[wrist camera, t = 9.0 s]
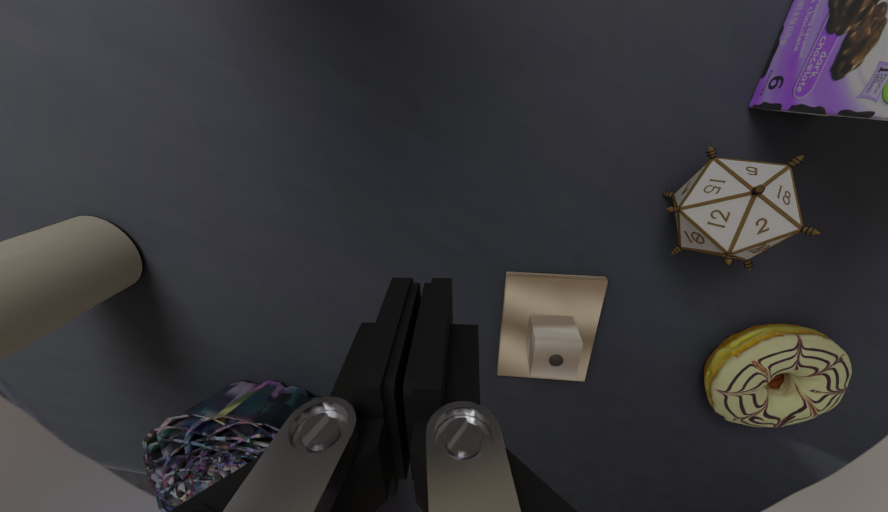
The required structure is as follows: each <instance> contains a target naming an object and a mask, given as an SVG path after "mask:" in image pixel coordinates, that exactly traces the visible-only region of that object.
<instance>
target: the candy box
mask: <svg viewBox="0 0 888 512" xmlns="http://www.w3.org/2000/svg"><path fill="white" fill-rule="evenodd" d="M749 107H750V108H756V109H763V110H771V111H782V112H792V113H799V114H808V115H819V116H842V117H852V118H863V119H874V120H884V121H888V0H794V1H793V3H792V5H791V8H790V10H789V12H788V15H787V17H786V20H785V22H784V24H783V27H782V29H781V31H780V33H779V36H778V38H777V40H776V43H775V45H774V48H773V50H772V52H771V55H770V57H769V59H768V62H767V64H766V66H765V69H764V71H763V73H762V76H761V78H760V81H759V83H758V85H757V87H756V90H755V92H754V95H753V97H752V99H751V101H750V104H749Z"/></svg>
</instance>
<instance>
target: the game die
mask: <svg viewBox="0 0 888 512" xmlns="http://www.w3.org/2000/svg"><path fill="white" fill-rule="evenodd" d="M706 153H707V156H709V158H710V160H709V161H708V162H707V163H706V164H704V165H703V166H702V167H701V168H700V169H699V170H698V171H697V172H696V173H695V174H694V175H693V176H692V177H691V178H690V179H689V180H688V181H687V182H686V183H684V184H683V185H682V186H681V187H680V188H679V189H678V190H677V191H676V192H675V193H672V191H671V192H670V191H669V190H668V191H666V192H663V194H664V195H665V197H669V198H670V197H672V199H673V206H670V207H669V208H667V210H668V211H669V212H670V213H671V214H672V213H674V214H675V221H676V229H677V236H678V243H679V246H678V247H674V249H672V252H671V255H674V254H678V253H679V252H680V251H681V249H685V250H690V251H695V252H701V253H706V254H711V255H716V256H721V257H723V258H724V260H723V261H724V262H725V263H727V264H728V265H729V264H731V263H733V259H737V260H742V261H744V263H743V264H744V267H745V268H747V269H748V270H751V268H752V266H753V265H752V263H753V262H751V261H750V259H752V258H753V257H755V256H757V255H759V254H761V253H762V252H764V251H766V250H768V249H770V248H772V247H773V246H775V245H777V244H779V243H781V242H782V241H784V240H786V239H788V238H790V237H791V236H793V235H795V234H797V233H799V232H803V233H805V235H806V234H808V235H810V236H811V235H817V234H821V233H820V232H818V231H817V230H816V228H811V227H804V226H803V221H802V216H801V211H800V207H799V202H798V197H797V192H796V187H795V182H794V177H793V172H792V167H794V166H796V165H797V166H798V164H799V163H802V159H803V157H804V155H802V156H798V157H794V158H793V159H792V160H790V162H789V163H788V164H779V163H769V162H759V161H750V160H740V159H730V158H721V157H716V156H715V155H716V152H715V149H713V148H712V147H710V146H709V147H708V150H707V152H706Z"/></svg>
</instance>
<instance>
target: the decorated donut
mask: <svg viewBox="0 0 888 512" xmlns="http://www.w3.org/2000/svg"><path fill="white" fill-rule="evenodd" d="M851 374H852V368H851V363H850V360H849V357H848V355H847V354H846V352H845V351H844V350H843V349H841V348H840V347H839V346H838V345H837V344H836V343H835V342H834V341H832V340H831V339H830V338H828V337H827V336H825V335H824V334H822V333H820V332H818V331H816V330H813V329H810V328H807V327H802V326H799V325H793V324H784V323H782V324H765V325H756V326H752V327H749V328H747V329H745V330H743V331H741V332H739V333H736V334H733V335H731V336H730V337H728V338H727V339H726V340H724V341H723V342H721V343H720V345H719V346H718V347H717V348H716V349H715V350H714V351H713V352H712V354H711V355H710V356H709V358H708V360H707V361H706V364H705V367H704V385H705V390H706V394H707V397H708V400H709V403H710V405H711V406H712V407H713V408H714V410H715V412H716V413H718V414H720V415H722V416H724V418H725V420H727V421H730V422H734V423H739V424H743V425H748V426H753V427H763V428H772V427H783V426H787V425H793V424H797V423H802V422H805V421H807V420H810V419H814V418H815V417H817V416H819V415H820V414H822V413H825V412H827V411H829V410H831V409H833V408H834V407H835V406H837V405H838V403H839V402H840V400H841V398H842V396H843V394H844V392H845V390H846V388H847V387H848V383H849V379H850V377H851Z"/></svg>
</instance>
